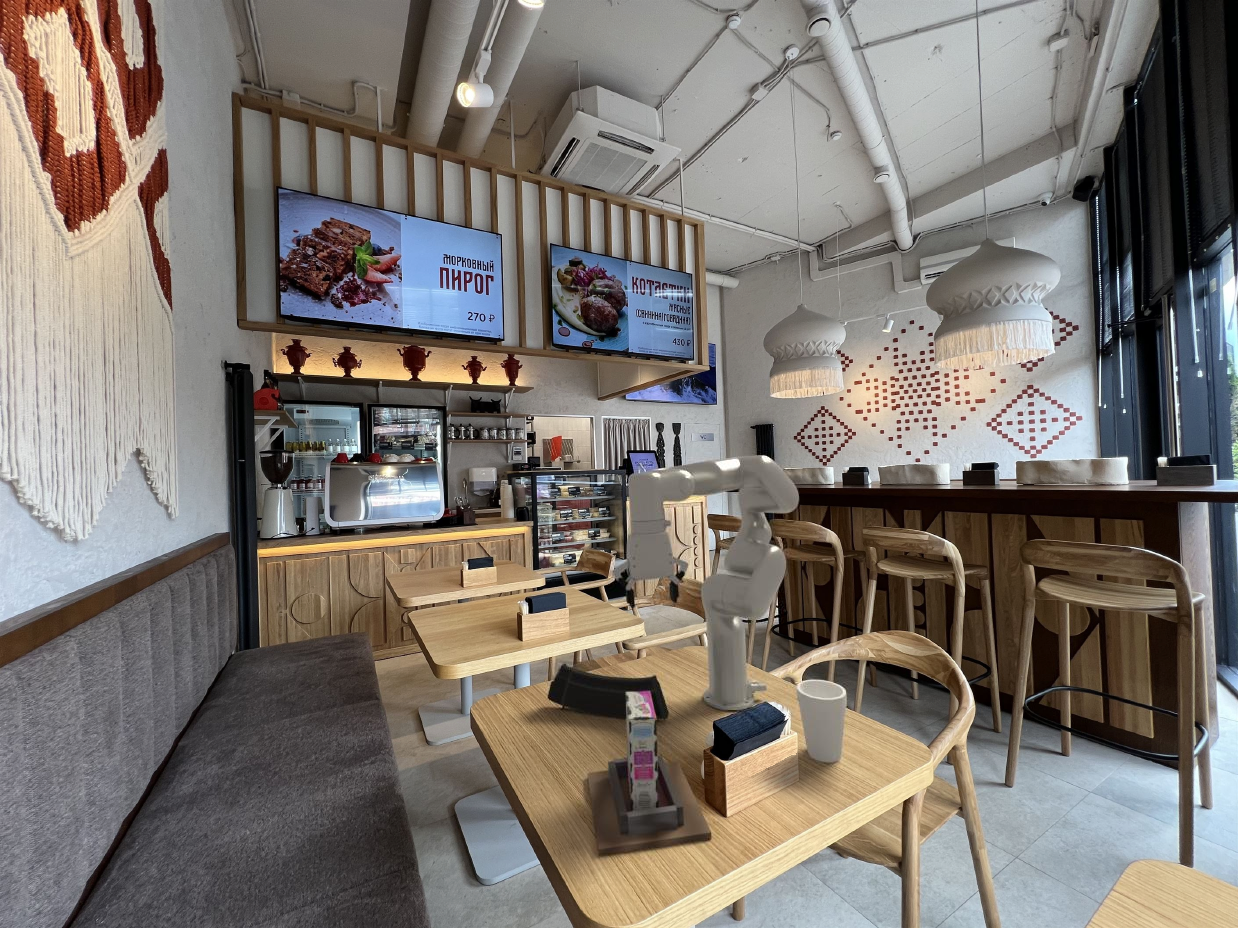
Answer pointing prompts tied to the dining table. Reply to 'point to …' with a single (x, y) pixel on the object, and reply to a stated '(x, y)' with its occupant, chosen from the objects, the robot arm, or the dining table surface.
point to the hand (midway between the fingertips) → (653, 603)
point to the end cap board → (644, 827)
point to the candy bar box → (642, 751)
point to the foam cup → (822, 718)
